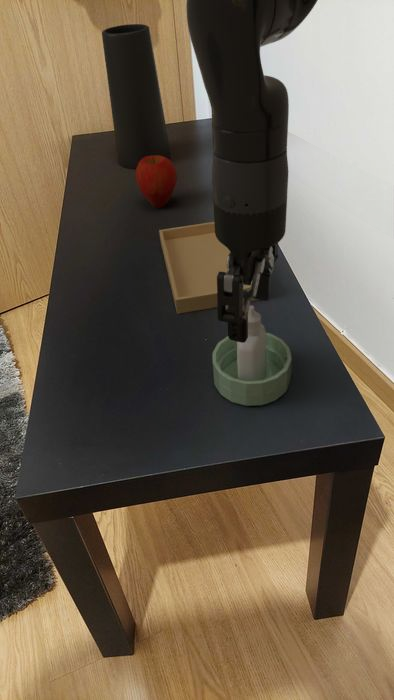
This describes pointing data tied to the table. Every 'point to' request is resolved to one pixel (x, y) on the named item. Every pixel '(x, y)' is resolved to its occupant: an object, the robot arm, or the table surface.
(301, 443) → the table surface
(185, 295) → the tray
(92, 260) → the table surface
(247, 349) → the eye dropper bottle
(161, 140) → the vase
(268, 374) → the bowl
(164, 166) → the apple
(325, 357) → the table surface
